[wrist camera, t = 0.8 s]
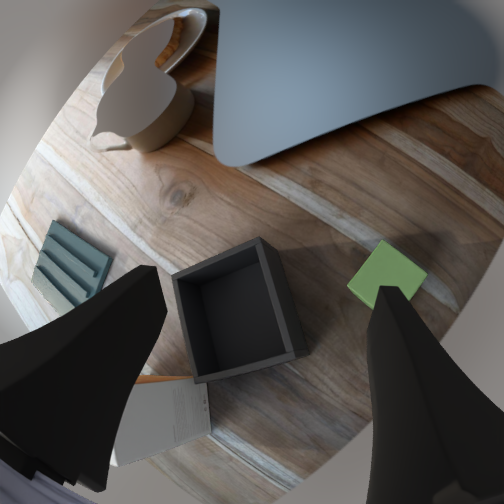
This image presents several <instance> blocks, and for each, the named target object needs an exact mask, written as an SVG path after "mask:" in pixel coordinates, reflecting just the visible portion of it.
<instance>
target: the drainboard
mask: <svg viewBox="0 0 504 504" xmlns="http://www.w3.org/2000/svg"><path fill="white" fill-rule="evenodd" d="M39 254H40V255H39V258H38V261H37V264H36V266H35V268H34V273H33V276H32V279H31V282H32V283H33V284H34V286H35V287H36V288H37V289H38V291H39V292H40V293H41V294H42V295H43V297H44V298H45V299H46V300H47V301H48V303H49V304H50V305H51V306H52V307H53V308H54V310H55V311H56V312H57V313H58V314H59V315H60V316H62V315H64V314H66V313H67V312H69V311H71V310H72V309H74V308H75V307H77V306H78V305H80V304H81V303H83V302H85V301H86V300H88V299H89V298H91V297H92V296H94V295H95V294H97V293H98V292H100V291H101V288H102V285H103V283H104V280H105V278H106V275H107V272H108V270H109V267H110V265H111V262H112V260H113V259H112V258H111V257H109V256H108V255H106V254H105V253H103V252H102V251H100V250H99V249H97V248H95V247H94V246H92V245H91V244H89V243H88V242H86V241H85V240H83V239H82V238H80V237H79V236H77V235H76V234H74V233H73V232H71V231H70V230H68V229H67V228H65V227H64V226H62V225H61V224H59V223H58V222H57V221H55V220H52V223H51V225H50V228H49V230H48V233H47V234H46V237H45V241H44V244H43V246H42V249H41V251H40V253H39Z"/></svg>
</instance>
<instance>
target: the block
mask: <svg viewBox="0 0 504 504" xmlns="http://www.w3.org/2000/svg"><path fill="white" fill-rule="evenodd" d="M427 276H428V273H427V272H425V271H424V270H423V269H422V268H420V267H419V266H418V265H416V264H415V263H414V262H413V261H411V260H410V259H409V258H407V257H406V256H405V255H403V254H402V253H401V252H400V251H398V250H397V249H396V248H394V247H393V246H392V245H390V244H389V243H388V242H386V241H385V240H381V242H380V243H379V244H378V246H377V247H376V248H375V250H374V251H373V252H372V254H371V255H370V256H369V258H368V259H367V260H366V262H365V263H364V264H363V266H362V267H361V268H360V269H359V271H358V272H357V273H356V275H355V276H354V277H353V278H352V280H351V281H350V282H349V283H348V285H347V286H348V287H349V289H350V290H351V291H352V293H353V294H354V295H355V296H357V297H358V298H359V299H360V300H361V301H363V302H364V303H365V304H366V305H367V306H369V307H370V308H371V309H372V310H373V309H374V305H375V301H376V298H377V294H378V290H379V286H380V285H385V286H398V287H399V288H400V289H401V291H402V292H403V294H404V295H405V296H406V298H407V299H408V301H410V299H411V298H412V297H413V295H414V294H415V293H416V291H417V290H418V288H419V287H420V286H421V284H422V283H423V281H424V280H425V279H426V277H427Z"/></svg>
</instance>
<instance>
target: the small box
mask: <svg viewBox="0 0 504 504" xmlns="http://www.w3.org/2000/svg"><path fill="white" fill-rule="evenodd" d="M208 434H211V423H210V414H209V403H208V393H207V383H201V384H195V383H194V379H193V376H157V375H139V376H138V378H137V380H136V382H135V384H134V386H133V389H132V391H131V393H130V395H129V398H128V401H127V404H126V407H125V409H124V412H123V415H122V418H121V422H120V425H119V428H118V432H117V435H116V439H115V443H114V447H113V451H112V456H111V460H110V465H113V466H116V467H120V466H123V465H127V464H130V463H133V462H136V461H139V460H142V459H145V458H148V457H151V456H154V455H157V454H160V453H162V452H165V451H168V450H170V449H173V448H175V447H178V446H180V445H183V444H186V443H188V442H191V441H193V440H196V439H199V438H201V437H203V436H206V435H208Z"/></svg>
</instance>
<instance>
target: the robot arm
mask: <svg viewBox="0 0 504 504" xmlns="http://www.w3.org/2000/svg"><path fill="white" fill-rule="evenodd" d="M167 312H168V311H167V307H166V303H165V300H164V296H163V292H162V288H161V284H160V280H159V276H158V272H157V268H156V266H147V265H140V266H138V267H136V268H134V269H133V270H131V271H129V272H128V273H126V274H125V275H123V276H122V277H120V278H119V279H117V280H116V281H114V282H113V283H111V284H110V285H109V286H107V287H106V288H104V289H103V290H101V291H100V292H98V293H97V294H95V295H94V296H92V297H91V298H89V299H88V300H86V301H85V302H83V303H81V304H80V305H78V306H77V307H75V308H74V309H72V310H71V311H69V312H67V313H66V314H64V315H62V316H61V317H59V318H57V319H55V320H54V321H52V322H50V323H48V324H46V325H44V326H42V327H40V328H38V329H36V330H34V331H32V332H30V333H27V334H25V335H23V336H21V337H19V338H16V339H14V340H11V341H8V342H6V343H3V344H0V504H96V503H94V502H92V501H89V500H88V499H86V498H84V497H82V496H80V495H78V494H76V493H74V492H73V491H71V490H69V489H67V488H65V487H64V486H63V483H64V482H67V483H69V484H71V485H73V486H74V485H75V484H76V483H78V484H80V485H82V486H84V487H86V488H88V489H90V490H92V491H94V492H102V491H104V490H105V489H106V484H107V477H108V470H109V465H110V460H111V456H112V451H113V447H114V443H115V439H116V435H117V432H118V428H119V425H120V422H121V418H122V415H123V412H124V409H125V407H126V404H127V401H128V398H129V395H130V393H131V391H132V389H133V386H134V384H135V382H136V380H137V378H138V376H139V374H140V372H141V370H142V369H143V367H144V365H145V363H146V361H147V359H148V357H149V355H150V353H151V351H152V349H153V347H154V345H155V343H156V341H157V339H158V337H159V335H160V332H161V329H162V327H163V324H164V321H165V318H166V315H167ZM367 364H368V373H369V382H370V392H371V402H372V413H373V448H372V462H371V471H370V481H369V488H368V494H367V501H366V504H504V412H503V411H502V410H501V409H500V408H498V407H497V406H496V405H495V404H494V403H493V402H492V401H491V400H490V399H489V398H488V397H487V396H486V395H485V394H484V393H483V392H482V391H480V389H479V388H478V387H477V386H476V385H475V384H474V383H473V382H472V381H471V380H470V379H469V378H468V377H467V376H466V374H465V373H464V372H463V371H462V370H461V369H460V368H459V367H458V366H457V364H456V363H455V362H454V361H453V360H452V358H451V357H450V356H449V355H448V353H447V352H446V351H445V350H444V348H443V347H442V346H441V345H440V343H439V342H438V341H437V339H436V338H435V337H434V335H433V334H432V333H431V331H430V330H429V329H428V327H427V326H426V325H425V323H424V322H423V320H422V319H421V318H420V316H419V315H418V313H417V312H416V310H415V309H414V308H413V306H412V305H411V303H410V302H409V301H408V299H407V298H406V296H405V295H404V294H403V292H402V291H401V289H400V288H399V287H398V286H385V285H380V286H379V290H378V294H377V298H376V301H375V305H374V309H373V312H372V316H371V319H370V323H369V326H368V329H367Z"/></svg>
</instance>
